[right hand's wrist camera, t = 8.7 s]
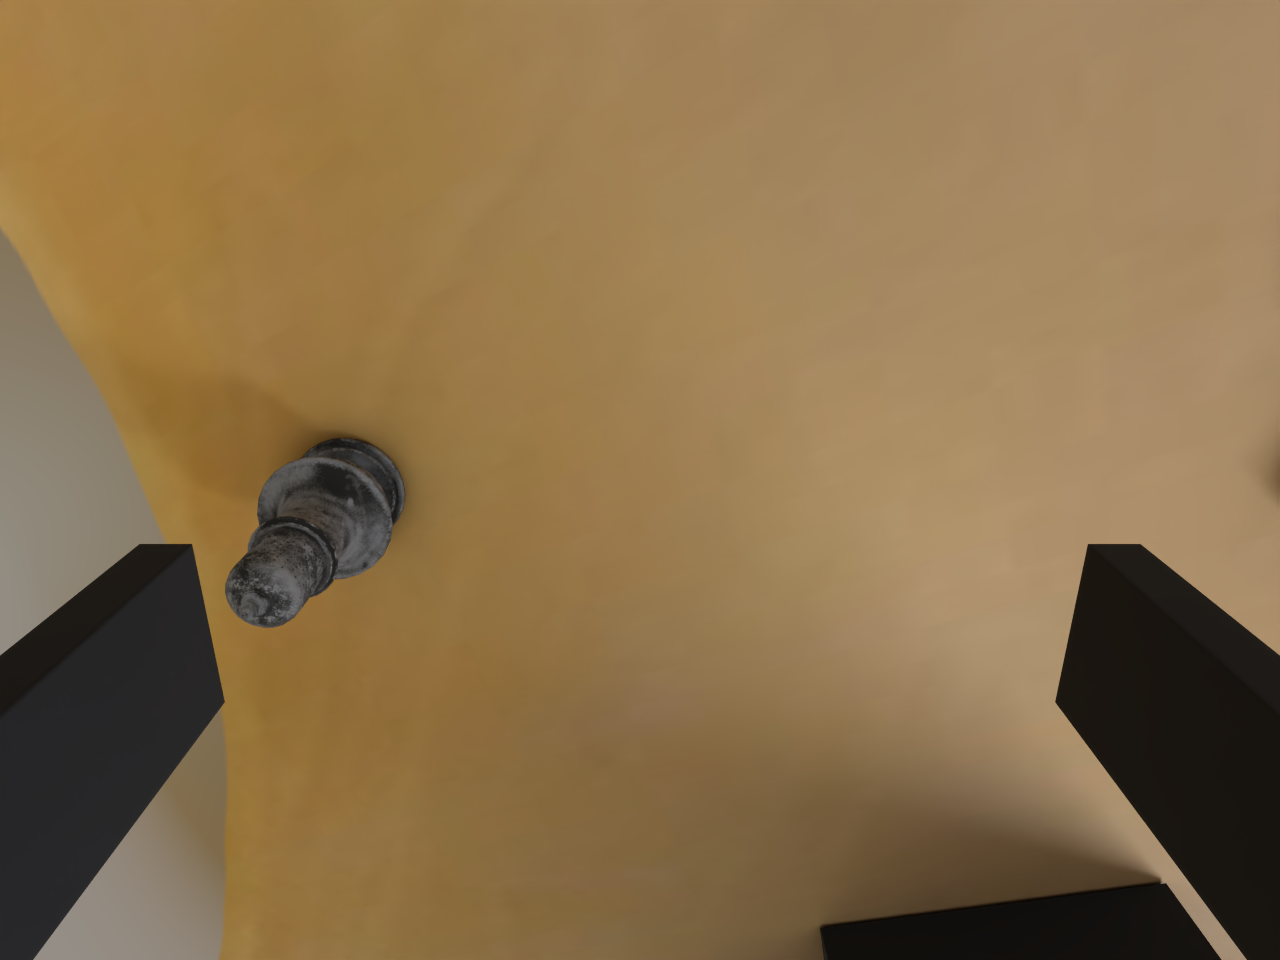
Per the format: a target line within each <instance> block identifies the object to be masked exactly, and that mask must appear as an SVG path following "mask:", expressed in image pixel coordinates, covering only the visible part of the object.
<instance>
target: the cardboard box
mask: <svg viewBox="0 0 1280 960" xmlns="http://www.w3.org/2000/svg"><path fill="white" fill-rule="evenodd" d="M820 930H821V938H822V946H823V954H824V960H1221V959H1220V957H1219V956H1218V954H1217V953H1216V952H1215V950H1214V949H1213V948H1212V946H1211V945H1210V943H1209V942H1208V941H1207V939H1206V938H1205V936H1204V935H1203V934H1202V932H1201V931H1200V930H1199V928H1198V927H1197V925H1196V924H1195V923H1194V921H1193V920H1192V919H1191V917H1190V916H1189V914H1188V913H1187V912H1186V910H1185V909H1184V907H1183V906H1182V905H1181V903H1180V902H1179V901H1178V899H1177V898H1176V896H1175V895H1174V894H1173V892H1172V891H1171V890H1170V888H1169V887H1168V885H1167V884H1166V883H1165V884H1157V885H1150V886H1142V887H1134V888H1126V889H1119V890H1111V891H1103V892H1095V893H1088V894H1080V895H1072V896H1065V897H1057V898H1049V899H1041V900H1034V901H1026V902H1018V903H1010V904H1003V905H995V906H987V907H980V908H972V909H964V910H956V911H949V912H941V913H933V914H925V915H918V916H910V917H902V918H894V919H887V920H879V921H871V922H864V923H856V924H848V925H840V926H833V927H825V928H820Z"/></svg>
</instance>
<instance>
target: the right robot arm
mask: <svg viewBox="0 0 1280 960" xmlns="http://www.w3.org/2000/svg"><path fill="white" fill-rule="evenodd" d="M224 702H225V701H224V696H223V691H222V687H221V682H220V677H219V672H218V667H217V663H216V658H215V653H214V648H213V643H212V638H211V634H210V629H209V624H208V619H207V614H206V609H205V605H204V600H203V595H202V590H201V585H200V581H199V576H198V571H197V566H196V561H195V556H194V552H193V547H192V544H139V545H138V546H137V547H135V548H134V549H133V550H132V551H131V552H129V553H128V554H127V555H125V556H124V557H123V558H122V559H120V560H119V561H118V562H117V563H115V564H114V565H113V566H112V567H110V568H109V569H108V570H107V571H105V572H104V573H103V574H102V575H101V576H99V577H98V578H97V579H96V580H94V581H93V582H92V583H91V584H89V585H88V586H87V587H85V588H84V589H83V590H82V591H80V592H79V593H78V594H77V595H75V596H74V597H73V598H72V599H70V600H69V601H68V602H67V603H65V604H64V605H63V606H62V607H60V608H59V609H58V610H57V611H55V612H54V613H53V614H52V615H50V616H49V617H48V618H47V619H46V620H44V621H43V622H42V623H40V624H39V625H38V626H37V627H35V628H34V629H33V630H32V631H30V632H29V633H28V634H27V635H25V636H24V637H23V638H22V639H20V640H19V641H18V642H17V643H15V644H14V645H13V646H12V647H10V648H9V649H8V650H7V651H5V652H4V653H3V654H2V655H0V960H33V959H34V958H35V956H36V955H37V954H38V952H39V951H40V950H41V948H42V947H43V946H44V944H45V943H46V942H47V940H48V939H49V938H50V936H51V935H52V933H53V932H54V931H55V929H56V928H57V927H58V925H59V924H60V923H61V921H62V920H63V919H64V917H65V916H66V915H67V913H68V912H69V911H70V909H71V908H72V907H73V905H74V904H75V903H76V901H77V900H78V898H79V897H80V896H81V895H82V893H83V892H84V890H85V889H86V888H87V886H88V885H89V884H90V882H91V881H92V880H93V878H94V877H95V876H96V874H97V873H98V872H99V870H100V869H101V868H102V866H103V865H104V864H105V862H106V861H107V860H108V858H109V857H110V856H111V854H112V853H113V852H114V850H115V849H116V847H117V846H118V845H119V843H120V842H121V841H122V839H123V838H124V837H125V835H126V834H127V833H128V831H129V830H130V829H131V827H132V826H133V825H134V823H135V822H136V821H137V819H138V818H139V816H140V815H141V814H142V813H143V811H144V810H145V808H146V807H147V806H148V804H149V803H150V802H151V800H152V799H153V798H154V796H155V795H156V794H157V792H158V791H159V790H160V788H161V787H162V786H163V784H164V783H165V782H166V780H167V779H168V778H169V776H170V775H171V774H172V772H173V771H174V769H175V768H176V767H177V766H178V764H179V763H180V761H181V760H182V759H183V757H184V756H185V755H186V753H187V752H188V751H189V749H190V748H191V747H192V745H193V744H194V743H195V741H196V740H197V739H198V737H199V736H200V734H201V733H202V732H203V731H204V729H205V728H206V726H207V725H208V724H209V723H210V721H211V720H212V718H213V717H214V716H215V714H216V713H217V712H218V710H219V709H220V708H221V706H222V705H223V704H224ZM1055 702H1056V704H1057V705H1058V706H1059V708H1060V709H1061V710H1062V712H1063V713H1064V714H1065V716H1066V717H1067V718H1068V720H1069V721H1070V723H1071V724H1072V725H1073V727H1074V728H1075V729H1076V731H1077V732H1078V733H1079V735H1080V736H1081V737H1082V739H1083V740H1084V741H1085V743H1086V744H1087V745H1088V747H1089V748H1090V749H1091V751H1092V752H1093V753H1094V755H1095V756H1096V757H1097V759H1098V760H1099V761H1100V763H1101V764H1102V766H1103V767H1104V768H1105V770H1106V771H1107V772H1108V774H1109V775H1110V776H1111V778H1112V779H1113V780H1114V782H1115V783H1116V784H1117V786H1118V787H1119V788H1120V790H1121V791H1122V792H1123V794H1124V795H1125V796H1126V798H1127V799H1128V800H1129V802H1130V803H1131V804H1132V806H1133V807H1134V809H1135V810H1136V811H1137V813H1138V814H1139V815H1140V817H1141V818H1142V819H1143V821H1144V822H1145V823H1146V825H1147V826H1148V827H1149V829H1150V830H1151V831H1152V833H1153V834H1154V835H1155V837H1156V838H1157V839H1158V841H1159V842H1160V843H1161V845H1162V846H1163V847H1164V849H1165V850H1166V852H1167V853H1168V854H1169V856H1170V857H1171V858H1172V860H1173V861H1174V862H1175V864H1176V865H1177V866H1178V868H1179V869H1180V870H1181V872H1182V873H1183V874H1184V876H1185V877H1186V878H1187V880H1188V881H1189V882H1190V884H1191V885H1192V886H1193V888H1194V889H1195V890H1196V892H1197V893H1198V895H1199V896H1200V897H1201V899H1202V900H1203V901H1204V903H1205V904H1206V905H1207V907H1208V908H1209V909H1210V911H1211V912H1212V913H1213V915H1214V916H1215V917H1216V919H1217V920H1218V921H1219V923H1220V924H1221V925H1222V927H1223V928H1224V929H1225V931H1226V932H1227V933H1228V935H1229V936H1230V938H1231V939H1232V940H1233V942H1234V943H1235V944H1236V946H1237V947H1238V948H1239V950H1240V951H1241V952H1242V954H1243V955H1244V956H1245V958H1246V959H1247V960H1280V655H1278V654H1277V653H1276V652H1275V651H1273V650H1272V649H1271V648H1270V647H1268V646H1267V645H1266V644H1265V643H1263V642H1262V641H1261V640H1260V639H1258V638H1257V637H1256V636H1255V635H1253V634H1252V633H1251V632H1250V631H1248V630H1247V629H1246V628H1245V627H1243V626H1242V625H1241V624H1240V623H1238V622H1237V621H1236V620H1235V619H1233V618H1232V617H1231V616H1230V615H1228V614H1227V613H1226V612H1225V611H1223V610H1222V609H1221V608H1220V607H1218V606H1217V605H1216V604H1215V603H1213V602H1212V601H1211V600H1210V599H1208V598H1207V597H1206V596H1205V595H1203V594H1202V593H1201V592H1200V591H1198V590H1197V589H1196V588H1195V587H1193V586H1192V585H1191V584H1190V583H1188V582H1187V581H1186V580H1185V579H1183V578H1182V577H1181V576H1180V575H1178V574H1177V573H1176V572H1175V571H1173V570H1172V569H1171V568H1170V567H1168V566H1167V565H1166V564H1165V563H1163V562H1162V561H1161V560H1160V559H1158V558H1157V557H1156V556H1155V555H1153V554H1152V553H1151V552H1150V551H1148V550H1147V549H1146V548H1145V547H1143V546H1142V545H1141V544H1088V547H1087V552H1086V556H1085V561H1084V566H1083V571H1082V576H1081V581H1080V585H1079V590H1078V595H1077V600H1076V605H1075V609H1074V614H1073V619H1072V624H1071V629H1070V634H1069V638H1068V643H1067V648H1066V653H1065V658H1064V662H1063V667H1062V672H1061V677H1060V682H1059V687H1058V691H1057V696H1056V701H1055Z"/></svg>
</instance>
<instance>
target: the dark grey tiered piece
mask: <svg viewBox="0 0 1280 960" xmlns="http://www.w3.org/2000/svg"><path fill="white" fill-rule="evenodd" d="M404 499H405V491H404V484H403V480H402V478H401V476H400V473H399V471H398V469H397V467H396V466H395V465H394V464H393V462H392V461H391V460H390V459H389V457H388V456H386V455H385V454H384V453H383V452H381V451H380V450H379V449H378V448H376V447H374V446H372V445H370V444H368V443H365V442H363V441H359V440H354V439H349V438H341V439H331V440H328V441H325V442H321V443H319V444H317V445H316V446H314V447H313V448H311V449H310V450H308V451H307V452H306V454H305V455H304V456H303V457H302V458H301V459H298V460H295V461H292V462H289V463H287V464H286V465H284V466H283V467H281V468H280V469H278V470H277V471H275V472H274V473H273V474H272V476H271V477H270V478H269V479H268V480H267V482H266V483H265V484H264V486H263V489H262V491H261V494H260V496H259V499H258V512H257V516H258V520H259V525H260V526H259V527H258V528H257V529H256V530H255V532H254V533H253V534H252V536H251V538H250V541H249V543H248V553H247V554H246V555H245V556H244V557H243V558H242V559H241V560H240V561H239V562H238V563H237V564H236V565H235V566H234V568H233V569H232V570H231V571H230V574H229V576H228V579H227V582H226V588H225V593H226V597H227V601H228V603H229V605H230V607H231V608H232V610H233V611H234V612H235V614H236V615H237V616H238V617H239V618H241V619H242V620H244V621H245V622H247V623H249V624H251V625H254V626H259V627H264V628H271V627H277V626H281V625H283V624H285V623H286V622H288V621H290V620H291V619H293V618H294V617H295V616H296V615H297V613H298V612H299V611H300V610H301V608H302V607H303V606H304V604H305V603H306V602H307V600H308V599H309V598H310V597H313V596H316V595H318V594H320V593H322V592H323V591H325V590H326V589H327V588H328V587H329V586H330V584H331V583H332V582H333V581H334V579H345V578H349V577H352V576H355V575H359V574H361V573H363V572H364V571H366V570H368V569H369V568H371V567H372V566H374V565H375V564H376V562H377V561H378V560H379V559H380V558H381V557H382V556H383V555H384V553H385V551H386V549H387V546H388V544H389V542H390V540H391V533H392V526H393V525H394V524H395V523H396V521H397V520H398V518H399V516H400V514H401V512H402V510H403V507H404Z"/></svg>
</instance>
